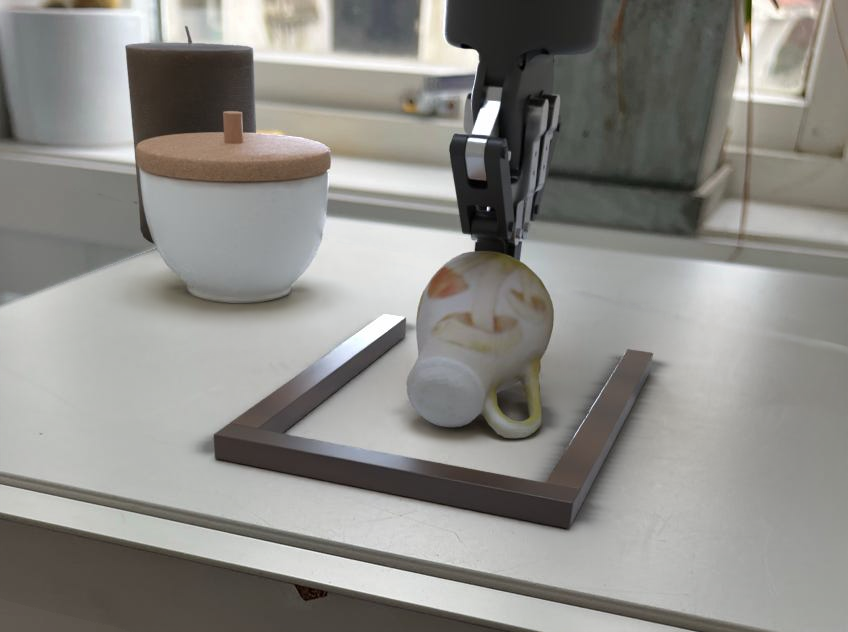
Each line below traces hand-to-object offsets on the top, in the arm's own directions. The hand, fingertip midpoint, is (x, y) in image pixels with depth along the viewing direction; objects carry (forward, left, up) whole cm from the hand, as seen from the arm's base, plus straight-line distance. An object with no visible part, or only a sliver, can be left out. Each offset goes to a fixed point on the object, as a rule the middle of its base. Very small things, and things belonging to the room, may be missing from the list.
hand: (491, 310), depth 56 cm
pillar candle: (-13, -35, -4) cm, 38 cm away
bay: (+6, +2, -3) cm, 7 cm away
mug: (+6, +2, -4) cm, 7 cm away
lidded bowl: (-3, -22, -4) cm, 22 cm away
